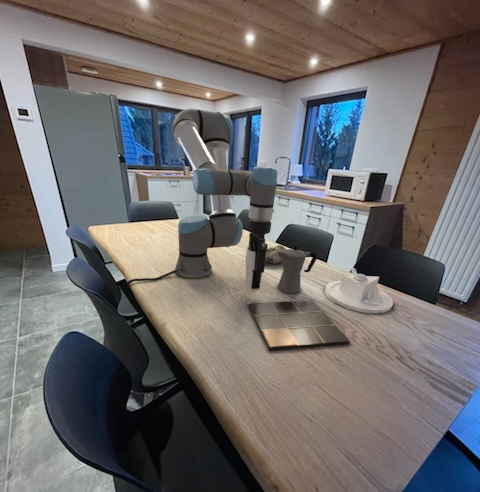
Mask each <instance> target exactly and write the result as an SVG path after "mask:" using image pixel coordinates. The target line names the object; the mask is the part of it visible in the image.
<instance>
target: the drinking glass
mask: <svg viewBox="0 0 480 492" xmlns="http://www.w3.org/2000/svg"><path fill="white" fill-rule="evenodd" d="M245 252H246V253H245V284H244V287H245V289H246V290H247V291H248V292H249V291H250V292H258V291H260V288H261V286H260V287H259V289H252V288H251V287H252V277H253V272H252V270H254V263H255V252H253V251H251V247H249V246H248V247H247V248H246V251H245ZM265 258H266V257H265ZM263 274H264V273H261V279H260V284H261V283H262V278H263V277H262V276H263Z"/></svg>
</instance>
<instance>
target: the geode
mask: <svg viewBox="0 0 480 492" xmlns="http://www.w3.org/2000/svg"><path fill="white" fill-rule="evenodd" d="M284 250H287V248H285V247H284V246H283V245H281V244H278V245H277V246H273V247H272V246H270V247H269V245H268V244H267V250H266V258H265V263H269V264H273V265H276V264H278V263H282V260H281V258H280V256H279V255H278V254H277V253H278V252H280V251H284Z"/></svg>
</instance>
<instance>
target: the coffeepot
mask: <svg viewBox="0 0 480 492" xmlns="http://www.w3.org/2000/svg"><path fill="white" fill-rule="evenodd" d="M298 248H299V245H298V244H294V245H293V248H289V249H287V248H286V250H284V251H280V252H278V253H277V254H278V255H279V256H280V258H281V260H282V261H281V263H282V269H283V270H282V272H281V276H280V279H279V281H278V285H277V288H278V290H280V291H281V292H283V293H286V294H297V293H300V290H301V272H302V270H303V272H304V273H309V272H310V271H311V270H312V268H313V266H314V264H315V263H316V261H317V260H318V256H317V254H316V252H314V251H303V250H300V249H298ZM306 258H311V259H310V262H309V264H308V266H307V269H303V267H304V264H305V260H306Z"/></svg>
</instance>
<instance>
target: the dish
mask: <svg viewBox="0 0 480 492" xmlns="http://www.w3.org/2000/svg"><path fill="white" fill-rule="evenodd" d="M350 270H351V273H352V275H351V274H343V275H342V277H341V280H335V281H329V282H328V283H327V284H326V285H325V287H324V294H325V296H326V297H327V298H328V299H329V300H331V301H332V302H333V303H335V304H336V305H339V306H341V307H343V308H346V309H349V310H351V311H356V312H359V313H365V314H384V313H387V312H388V311H391V309H392V307H393V306H394V305H393V304H394V300H393V298H392V297H391V296H390V295H389V294H388V293H387V292H385V291H383V290H382V289H380V288H379V287H378V286H377V285H378V283H379V279H380V276H372V275H371V276H370V275H365V274H363V273H358V272H357V269H356V268H355V267H353V266H350Z"/></svg>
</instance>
